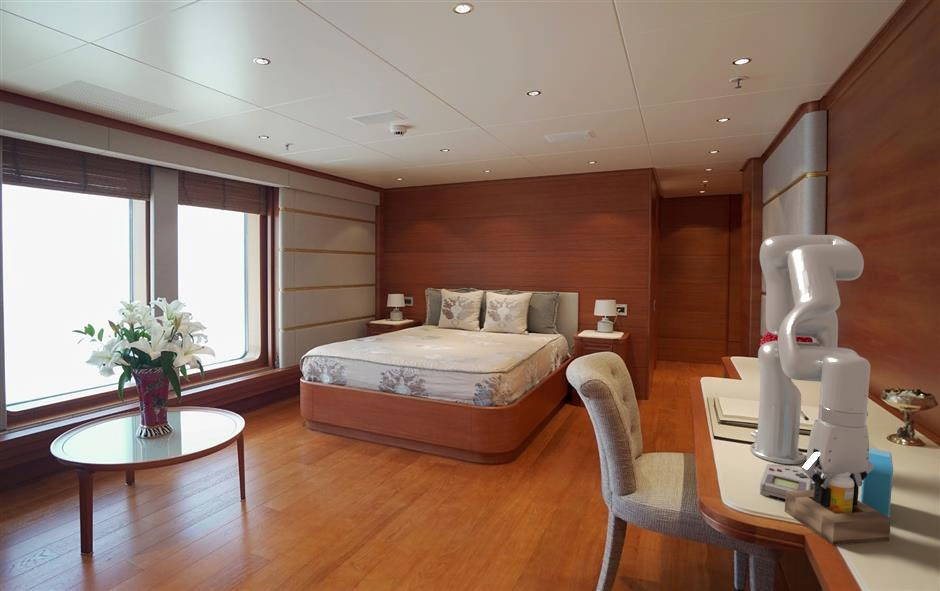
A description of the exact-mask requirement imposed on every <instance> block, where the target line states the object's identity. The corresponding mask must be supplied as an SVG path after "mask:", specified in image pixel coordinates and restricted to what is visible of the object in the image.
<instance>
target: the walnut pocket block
mask: <svg viewBox="0 0 940 591" xmlns="http://www.w3.org/2000/svg"><path fill="white" fill-rule="evenodd" d="M784 512H785V513H786V514H788V515H789V516H791V517H792V518H794V519H795V520H796V521H797V522H798V523H799V522H800V523H801V524H802V525H803V526H805V527H806V528H808V529H809V530H811V531H812V532H813V533H815V534H816V535H818V536H819V537H821V538H822V539H823V540H824V541H826V542H828V543H829V544H831V545H833V546H836V545H837V546H839V545H851V544H861V543H862V544H865V543H877V542H889V541H890V535H891V522H892V518H891V517H890V516H889V517H887V516H885V515H884V514H882V513H880V512H878V511H876V510H875V509H873V508H871V507H869V506H867V505H866V504H864V503H862V502H861V500H858V504H857V506H852V513H841V514H834V513H833V512H831V511H829V510H828V509H826V508H825V507H823V506H821V505H820V504H819V503H818V502H816V501H815V500H814V489H811V490H799V491H786V497H785V500H784Z"/></svg>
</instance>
